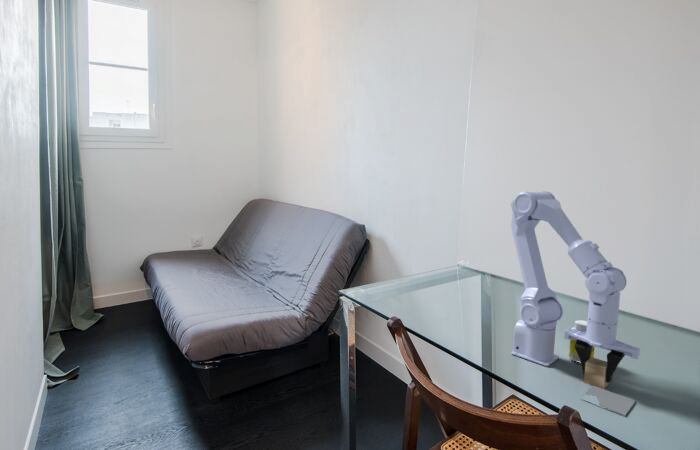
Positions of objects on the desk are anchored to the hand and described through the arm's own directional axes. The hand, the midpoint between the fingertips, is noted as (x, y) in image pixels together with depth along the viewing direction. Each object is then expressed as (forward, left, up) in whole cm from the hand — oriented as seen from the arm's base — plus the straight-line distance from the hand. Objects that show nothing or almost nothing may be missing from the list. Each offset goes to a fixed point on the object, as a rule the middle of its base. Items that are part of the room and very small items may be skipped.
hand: (596, 377), depth 89 cm
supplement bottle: (-6, +10, -2) cm, 12 cm away
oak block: (0, 0, -1) cm, 1 cm away
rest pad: (+4, -6, -1) cm, 8 cm away
